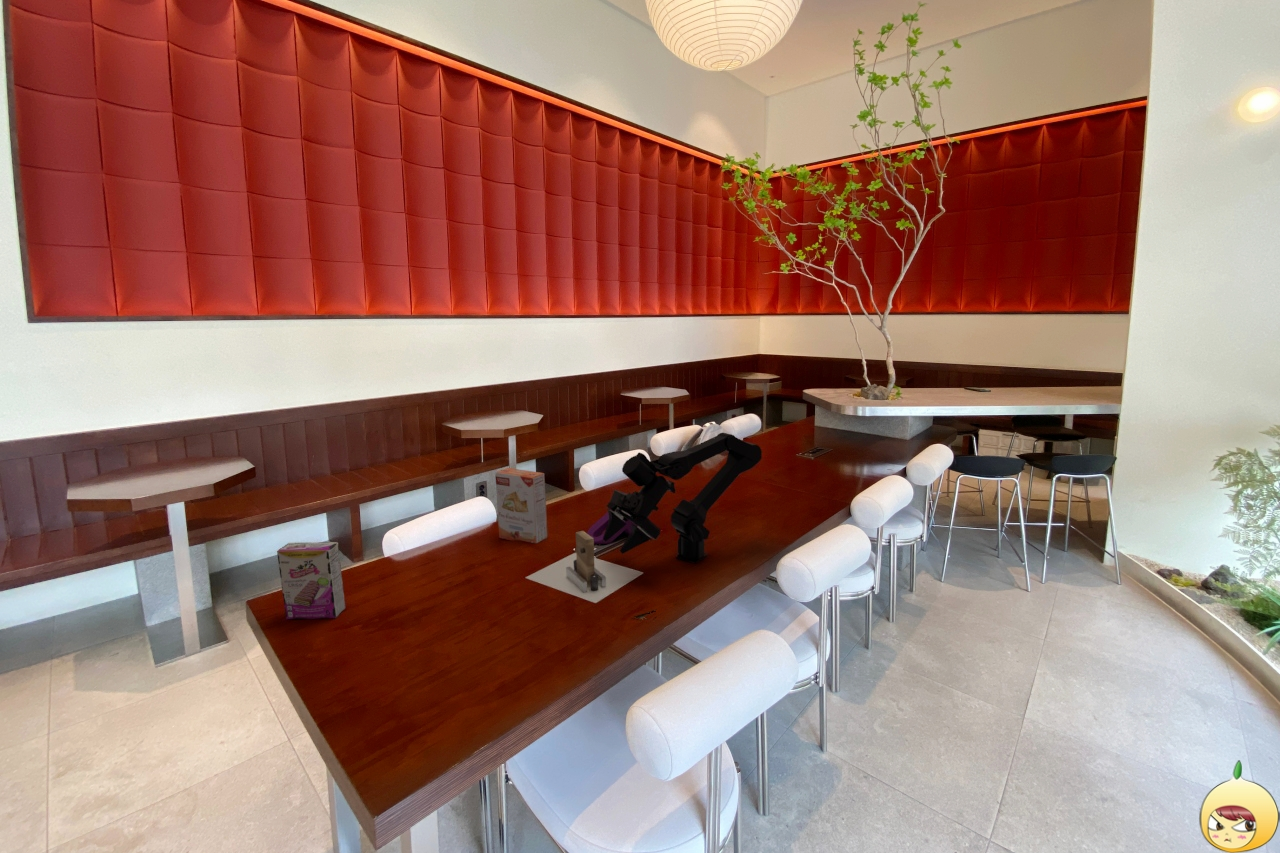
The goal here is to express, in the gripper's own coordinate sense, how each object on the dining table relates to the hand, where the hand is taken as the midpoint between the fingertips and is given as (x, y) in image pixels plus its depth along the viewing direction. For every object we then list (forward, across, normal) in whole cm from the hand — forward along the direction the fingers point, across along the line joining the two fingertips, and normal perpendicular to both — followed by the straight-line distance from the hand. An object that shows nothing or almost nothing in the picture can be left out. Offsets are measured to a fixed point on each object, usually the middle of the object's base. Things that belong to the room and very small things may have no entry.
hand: (612, 546), depth 145 cm
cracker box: (+14, -37, -2) cm, 39 cm away
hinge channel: (+11, 0, 0) cm, 11 cm away
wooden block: (+11, 0, 0) cm, 11 cm away
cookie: (+7, +16, +6) cm, 18 cm away
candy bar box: (+52, -19, -40) cm, 69 cm away
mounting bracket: (-3, -24, +16) cm, 29 cm away
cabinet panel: (+10, -3, +2) cm, 11 cm away
